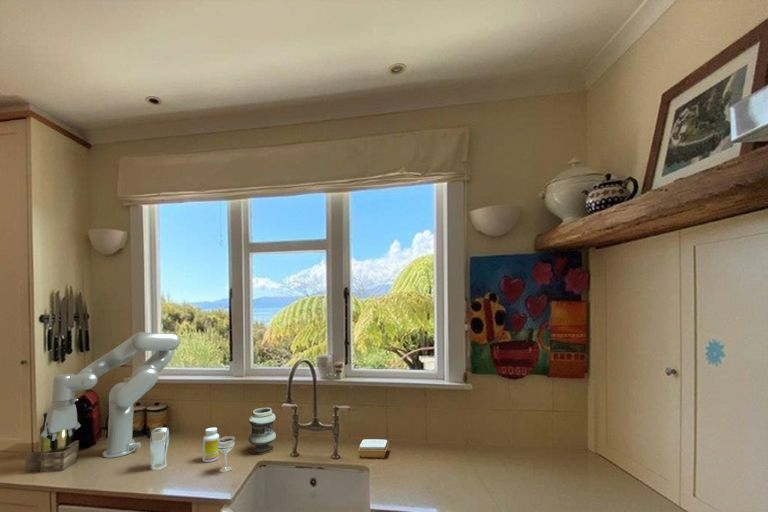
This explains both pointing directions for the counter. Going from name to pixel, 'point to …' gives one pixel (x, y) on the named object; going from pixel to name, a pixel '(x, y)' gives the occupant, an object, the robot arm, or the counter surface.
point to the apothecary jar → (262, 430)
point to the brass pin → (61, 441)
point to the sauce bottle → (43, 441)
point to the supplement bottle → (210, 445)
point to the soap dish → (373, 448)
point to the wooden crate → (52, 459)
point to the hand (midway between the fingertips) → (60, 447)
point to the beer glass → (159, 447)
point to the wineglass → (226, 449)
